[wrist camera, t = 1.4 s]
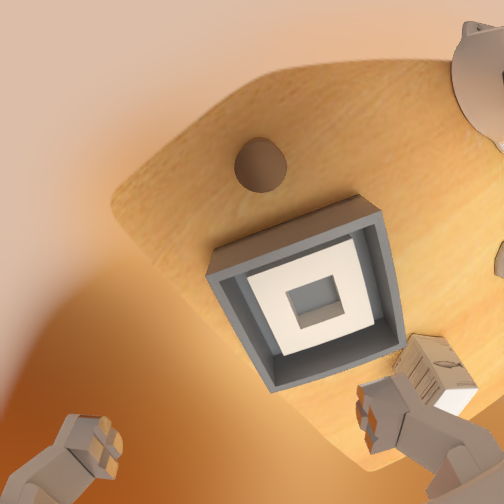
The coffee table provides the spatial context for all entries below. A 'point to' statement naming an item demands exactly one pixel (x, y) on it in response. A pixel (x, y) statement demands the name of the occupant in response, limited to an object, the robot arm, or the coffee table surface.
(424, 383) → the supplement box
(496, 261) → the flask
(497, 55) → the robot arm
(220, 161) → the coffee table surface
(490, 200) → the coffee table surface
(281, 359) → the bin
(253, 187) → the peg
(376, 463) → the coffee table surface
